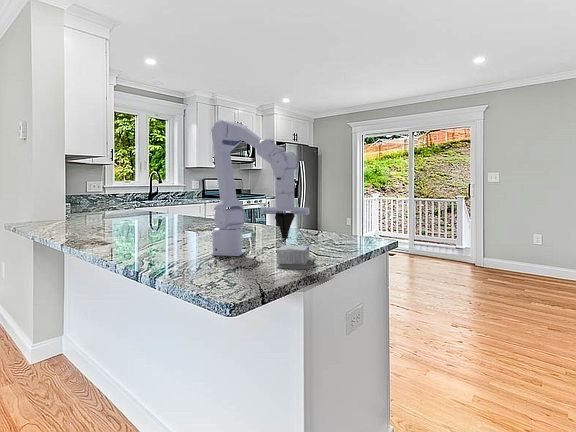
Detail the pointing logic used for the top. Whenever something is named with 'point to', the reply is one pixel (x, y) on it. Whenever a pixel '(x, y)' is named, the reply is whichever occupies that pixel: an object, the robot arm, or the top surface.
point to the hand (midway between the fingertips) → (285, 238)
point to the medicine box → (293, 254)
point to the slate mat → (288, 266)
